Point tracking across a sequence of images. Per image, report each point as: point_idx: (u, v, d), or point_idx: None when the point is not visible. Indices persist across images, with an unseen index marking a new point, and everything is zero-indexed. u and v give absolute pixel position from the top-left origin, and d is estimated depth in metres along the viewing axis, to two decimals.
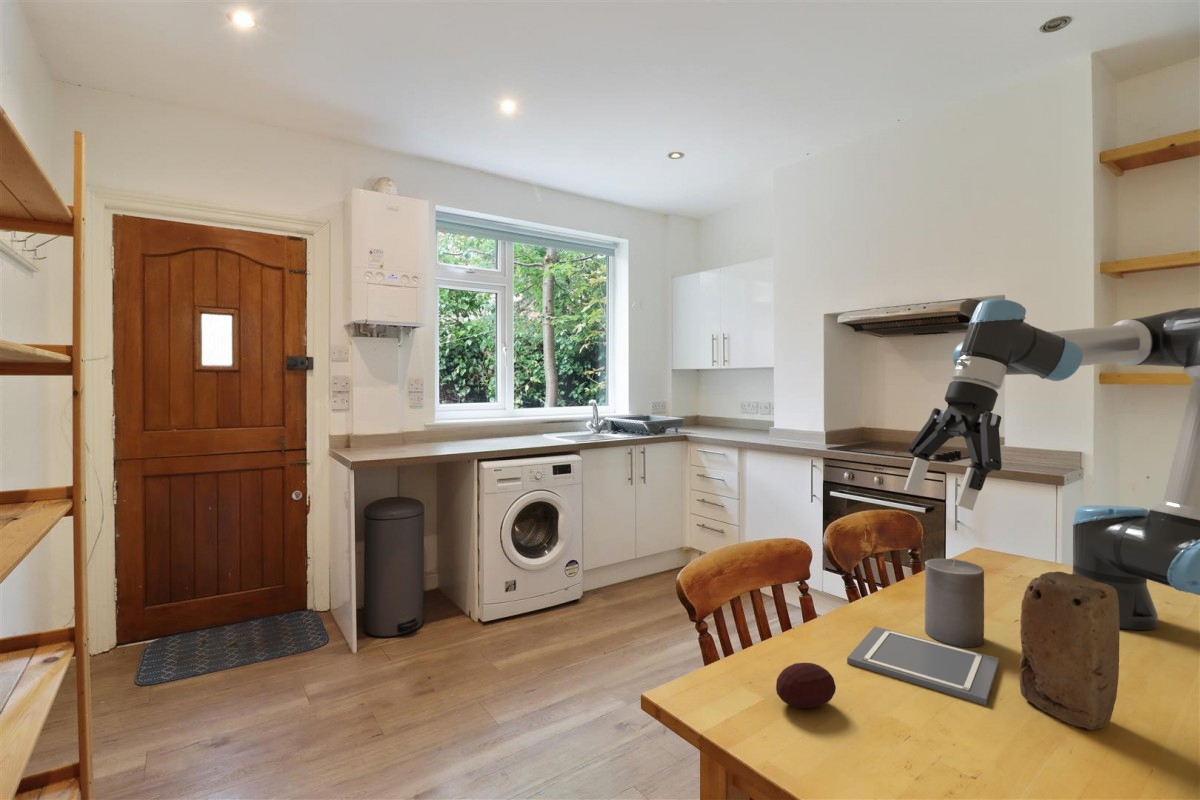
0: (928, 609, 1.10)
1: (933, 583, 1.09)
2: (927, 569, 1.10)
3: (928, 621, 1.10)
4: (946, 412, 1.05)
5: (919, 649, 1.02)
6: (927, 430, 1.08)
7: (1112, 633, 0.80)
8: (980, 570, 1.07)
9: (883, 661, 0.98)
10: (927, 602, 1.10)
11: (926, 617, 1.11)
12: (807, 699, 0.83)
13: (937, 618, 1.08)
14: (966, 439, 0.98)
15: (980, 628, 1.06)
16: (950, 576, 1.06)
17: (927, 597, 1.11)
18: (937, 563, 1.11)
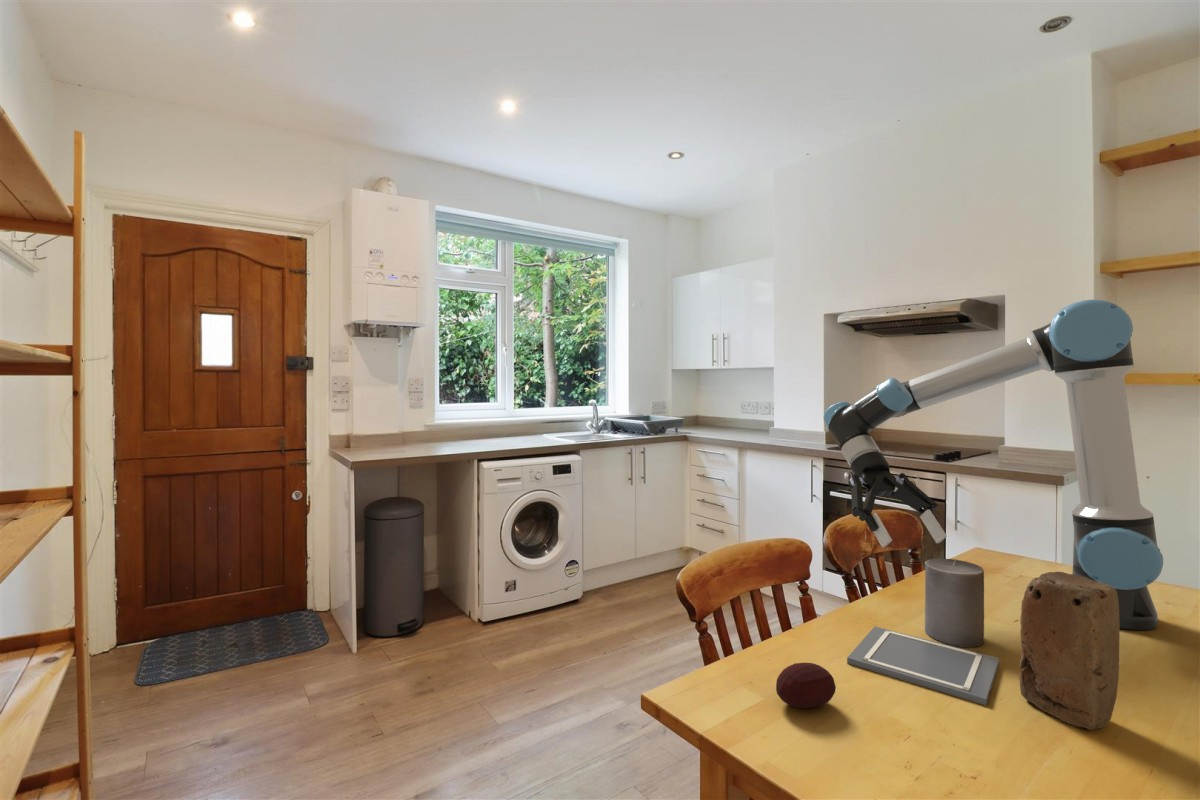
0: (928, 609, 1.10)
1: (933, 583, 1.09)
2: (927, 569, 1.10)
3: (928, 621, 1.10)
4: None
5: (919, 649, 1.02)
6: None
7: (1112, 633, 0.80)
8: (980, 570, 1.07)
9: (883, 661, 0.98)
10: (927, 602, 1.10)
11: (926, 617, 1.11)
12: (807, 699, 0.83)
13: (937, 618, 1.08)
14: None
15: (980, 628, 1.06)
16: (950, 576, 1.06)
17: (927, 597, 1.11)
18: (937, 563, 1.11)
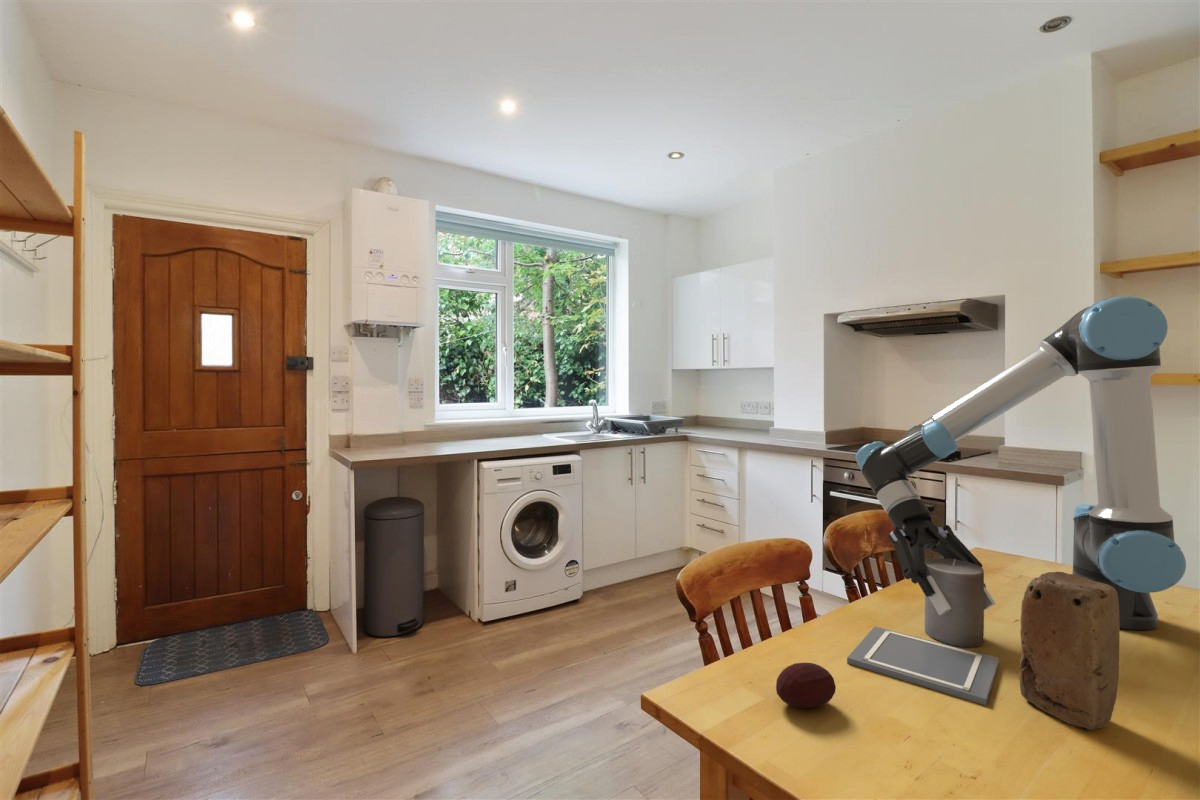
0: (928, 609, 1.10)
1: None
2: (927, 569, 1.10)
3: (928, 621, 1.10)
4: None
5: (919, 649, 1.02)
6: None
7: (1112, 633, 0.80)
8: (980, 570, 1.07)
9: (883, 661, 0.98)
10: (927, 602, 1.10)
11: (926, 617, 1.11)
12: (807, 699, 0.83)
13: (937, 617, 1.08)
14: None
15: (980, 628, 1.06)
16: (950, 575, 1.06)
17: (926, 597, 1.11)
18: (937, 563, 1.11)
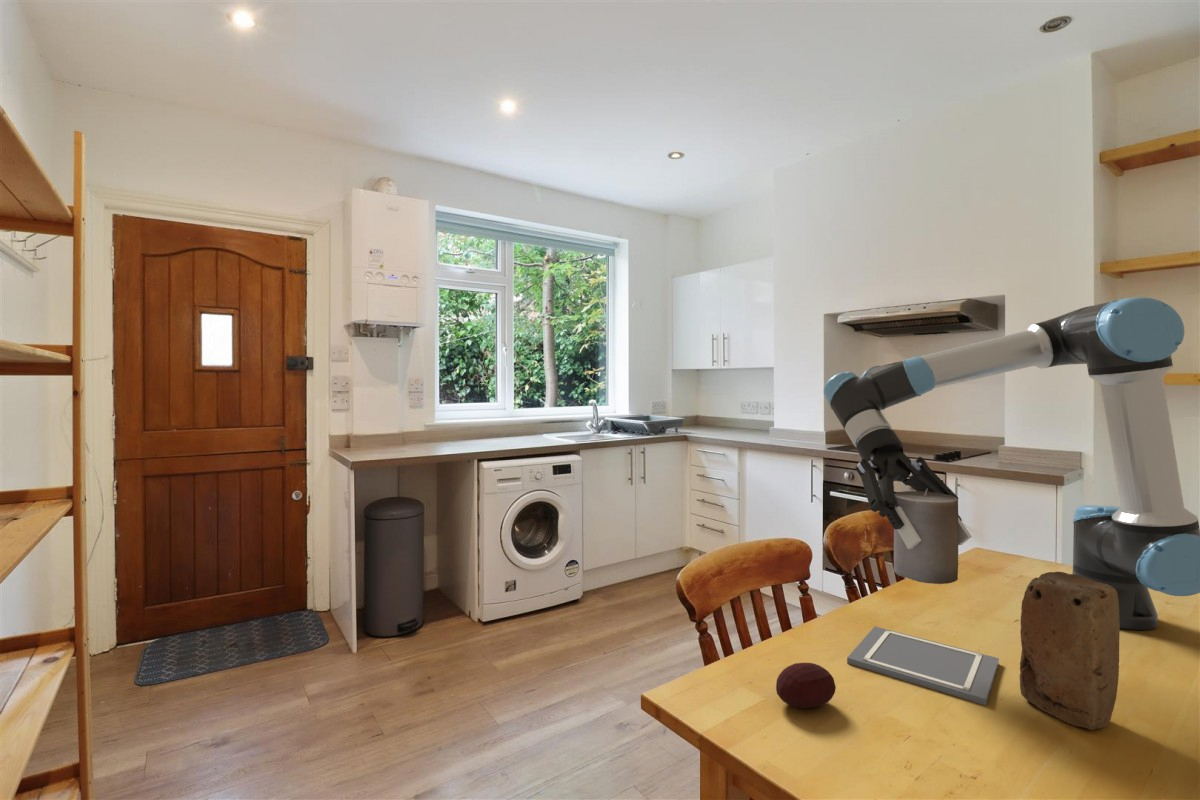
0: (897, 544, 0.99)
1: None
2: (896, 500, 0.99)
3: (897, 558, 0.99)
4: None
5: (919, 649, 1.02)
6: None
7: (1112, 633, 0.80)
8: (954, 499, 0.96)
9: (883, 661, 0.98)
10: (895, 537, 0.99)
11: (895, 554, 1.00)
12: (807, 699, 0.83)
13: (906, 553, 0.97)
14: None
15: (953, 563, 0.95)
16: (920, 504, 0.95)
17: (895, 532, 0.99)
18: (907, 494, 1.00)
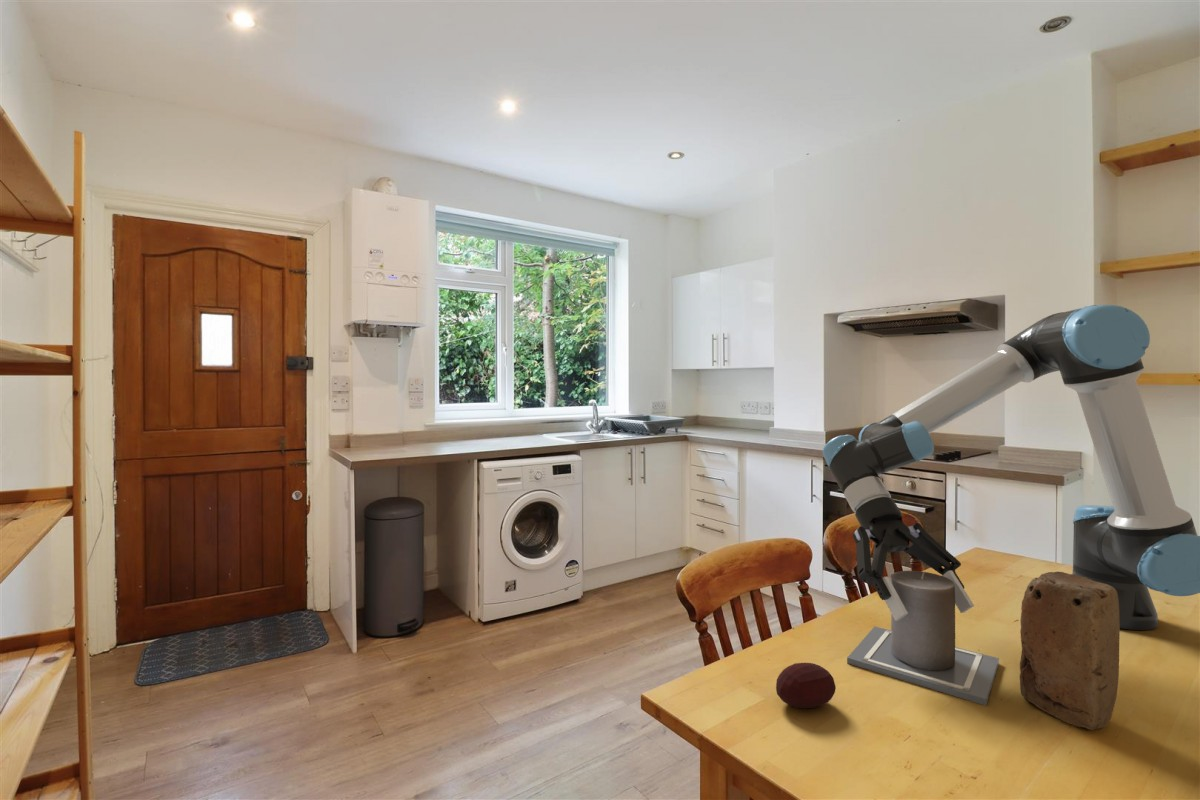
0: (894, 627, 0.99)
1: None
2: (893, 583, 0.99)
3: (894, 641, 0.99)
4: None
5: None
6: None
7: (1112, 633, 0.80)
8: (950, 584, 0.96)
9: (883, 661, 0.98)
10: (893, 619, 1.00)
11: (892, 636, 1.00)
12: (807, 699, 0.83)
13: (903, 637, 0.97)
14: None
15: (950, 649, 0.95)
16: (917, 591, 0.95)
17: None
18: (904, 576, 1.00)
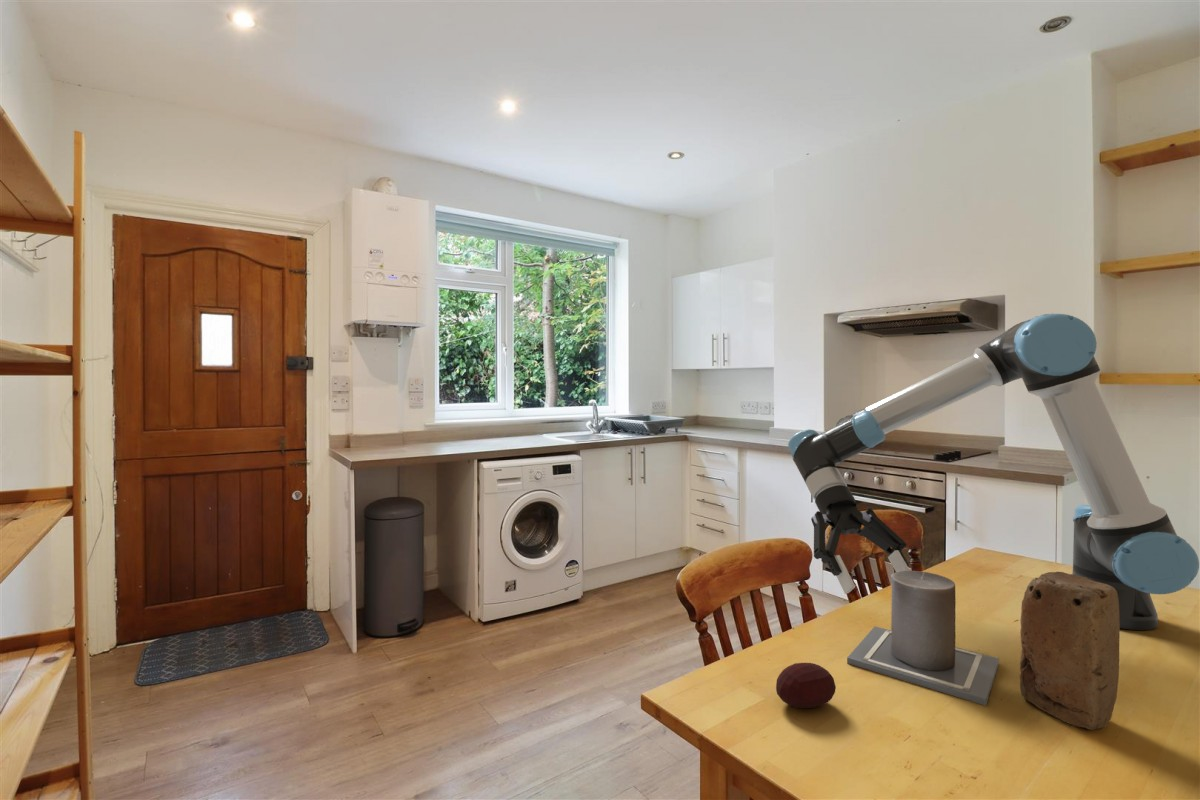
0: (894, 627, 0.99)
1: (899, 599, 0.98)
2: (893, 583, 0.99)
3: (894, 641, 0.99)
4: None
5: None
6: None
7: (1112, 633, 0.80)
8: (951, 585, 0.96)
9: (883, 661, 0.98)
10: (893, 619, 1.00)
11: (892, 636, 1.00)
12: (807, 699, 0.83)
13: (903, 637, 0.97)
14: None
15: (950, 649, 0.95)
16: (917, 591, 0.95)
17: (893, 614, 1.00)
18: (904, 576, 1.00)
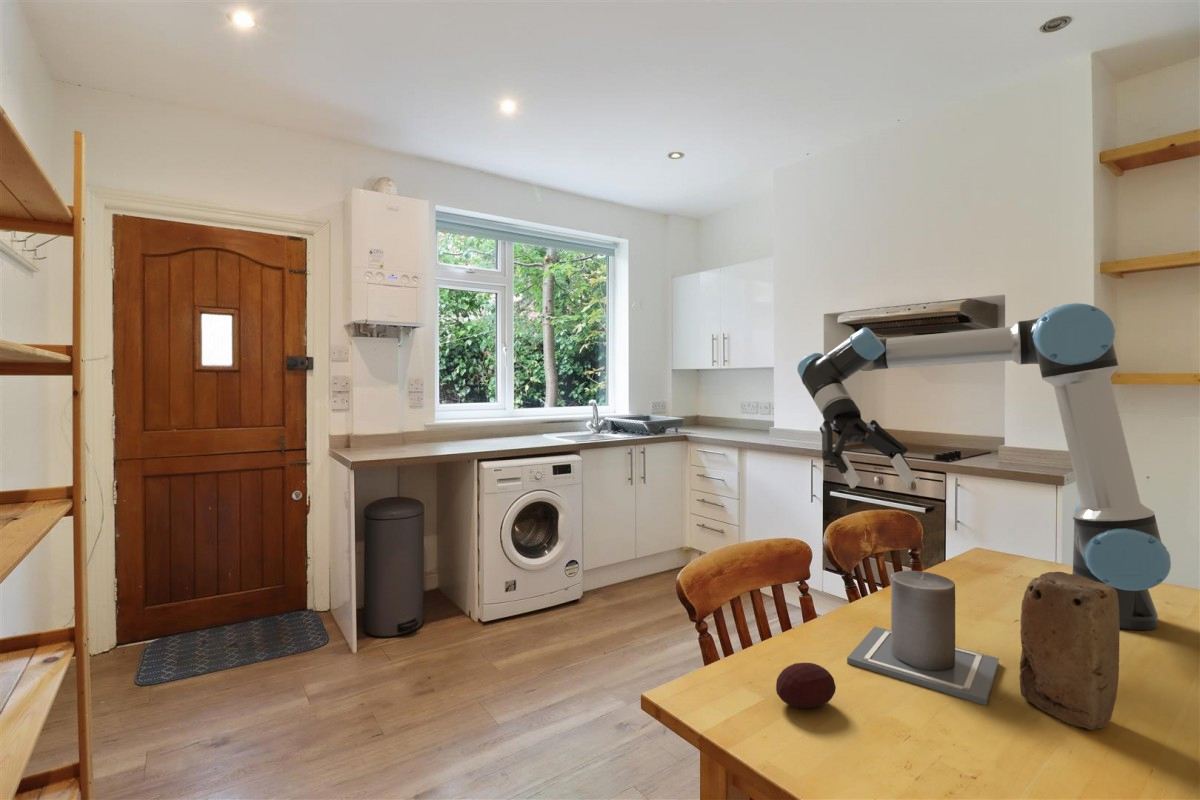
0: (894, 627, 0.99)
1: (899, 599, 0.98)
2: (893, 583, 0.99)
3: (894, 641, 0.99)
4: None
5: None
6: None
7: (1112, 633, 0.80)
8: (951, 585, 0.96)
9: (883, 661, 0.98)
10: (893, 620, 0.99)
11: (892, 636, 1.00)
12: (807, 699, 0.83)
13: (903, 637, 0.97)
14: None
15: (950, 649, 0.95)
16: (917, 591, 0.95)
17: (892, 614, 1.00)
18: (904, 576, 1.00)
